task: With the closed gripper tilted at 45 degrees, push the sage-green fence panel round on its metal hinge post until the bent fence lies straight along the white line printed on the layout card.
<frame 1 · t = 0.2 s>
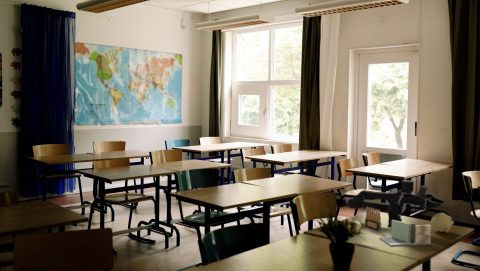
hand: (442, 203, 254), 17 cm above the table, tool horizontal, fingers open, 9 cm apart
ammunition clip: (372, 229, 264), on the table
fixed fence panel: (420, 233, 236), on the layout card
layout card: (412, 244, 236), on the table
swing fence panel: (400, 230, 241), point 5 cm above the table, hinge at -60.0°
cream rounded piece: (442, 232, 259), on the table
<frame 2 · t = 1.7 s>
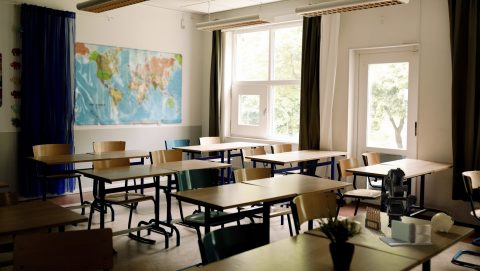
hand: (399, 212, 250), 13 cm above the table, tool tilted 45°, fingers open, 8 cm apart
nothing on the table moved.
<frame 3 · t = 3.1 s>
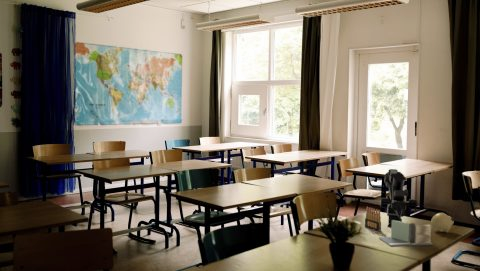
hand: (399, 216, 248), 11 cm above the table, tool tilted 45°, fingers closed
nothing on the table moved.
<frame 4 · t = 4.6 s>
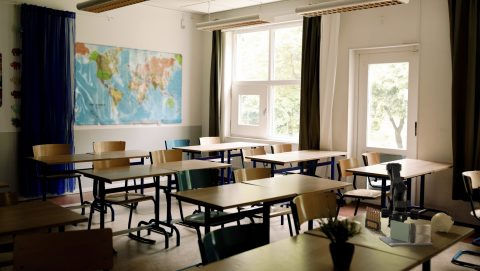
hand: (400, 228, 241), 6 cm above the table, tool tilted 45°, fingers closed
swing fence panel: (399, 230, 241), point 5 cm above the table, hinge at -54.6°, touching gripper
everything else where it was.
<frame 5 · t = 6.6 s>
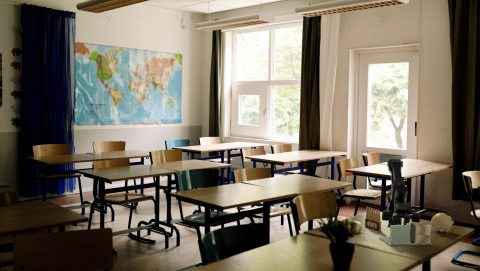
hand: (402, 231, 237), 6 cm above the table, tool tilted 45°, fingers closed
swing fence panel: (399, 234, 235), point 5 cm above the table, hinge at 1.4°
everything else where it was.
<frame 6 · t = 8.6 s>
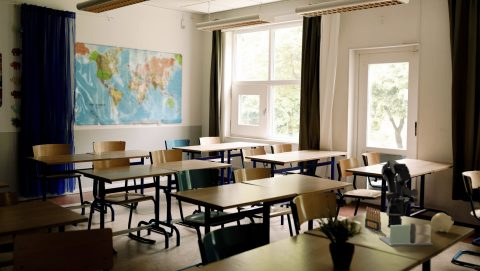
hand: (403, 214, 251), 12 cm above the table, tool tilted 25°, fingers closed
nothing on the table moved.
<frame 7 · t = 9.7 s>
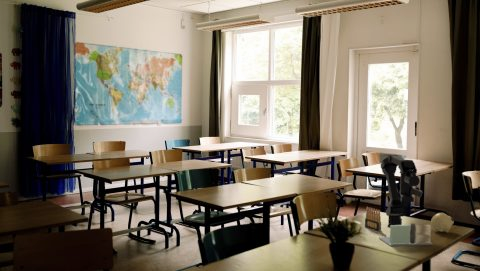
hand: (405, 211, 255), 12 cm above the table, tool pointing down, fingers closed
nothing on the table moved.
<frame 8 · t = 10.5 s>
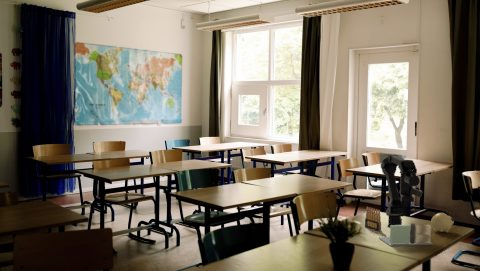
hand: (405, 211, 255), 12 cm above the table, tool pointing down, fingers closed
nothing on the table moved.
at the end: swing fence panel at +1° (first picture: -60°) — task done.
